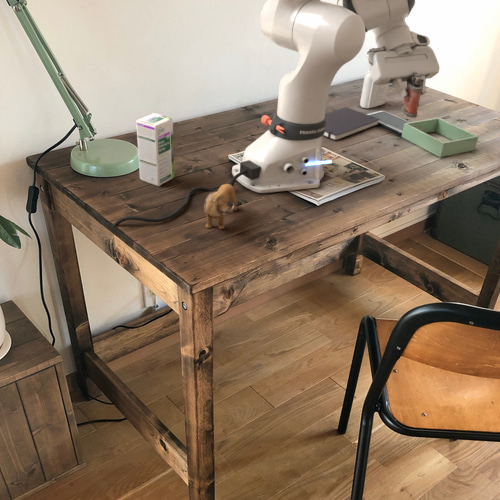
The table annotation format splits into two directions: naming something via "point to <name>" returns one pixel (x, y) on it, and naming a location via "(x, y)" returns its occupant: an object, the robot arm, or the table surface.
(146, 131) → the syrup box
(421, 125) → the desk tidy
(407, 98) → the lighter
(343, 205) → the table surface
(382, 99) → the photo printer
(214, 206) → the tan animal figure
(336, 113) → the notebook
